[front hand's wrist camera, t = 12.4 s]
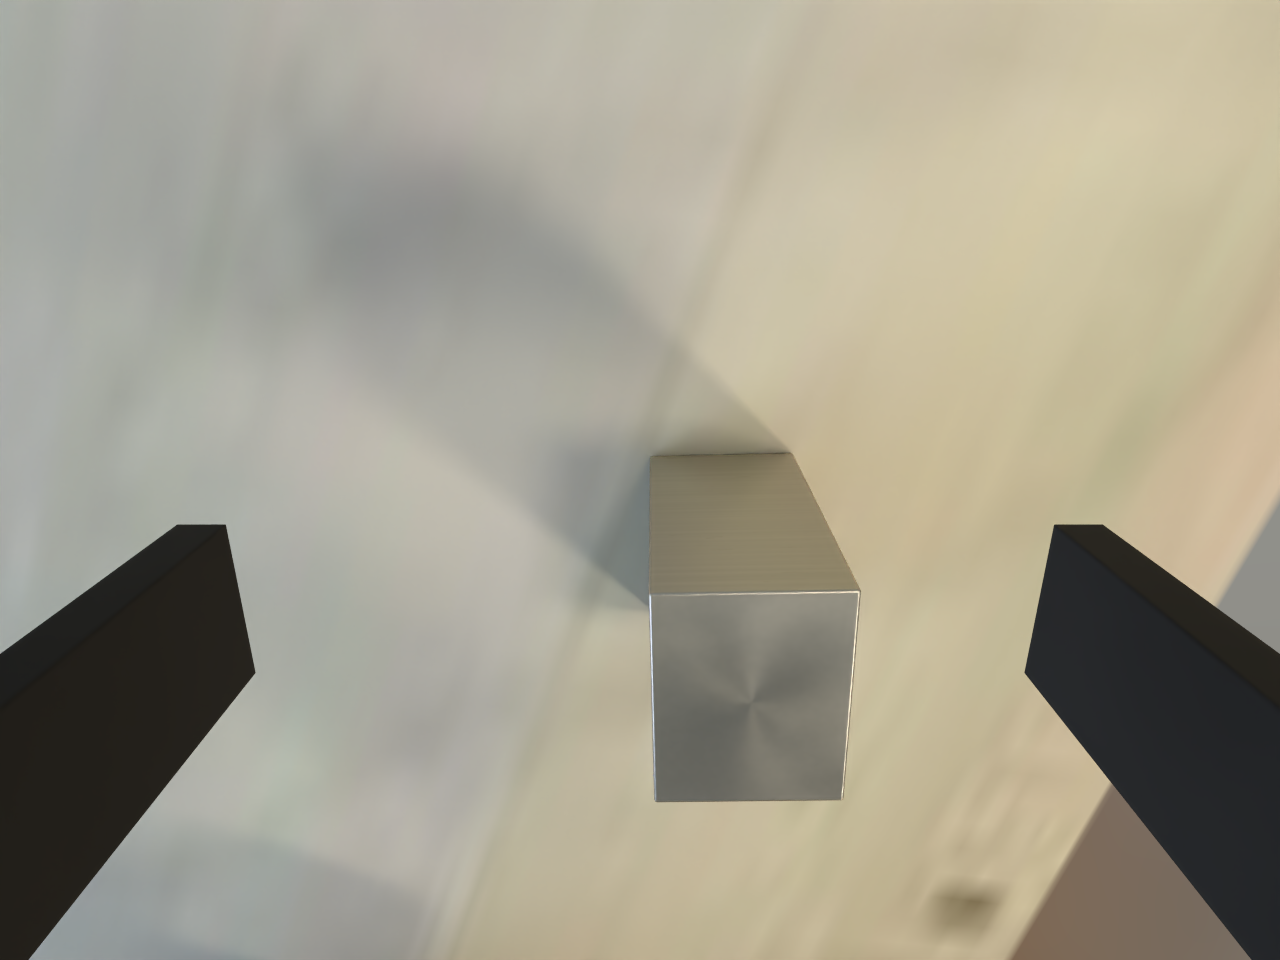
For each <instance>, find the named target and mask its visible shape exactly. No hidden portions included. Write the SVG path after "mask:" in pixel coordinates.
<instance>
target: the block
mask: <svg viewBox="0 0 1280 960" xmlns="http://www.w3.org/2000/svg"><path fill="white" fill-rule="evenodd" d="M860 595H861V591H860V588H859V586H858V584H857V582H856V580H855V578H854V576H853V574H852V572H851V570H850V568H849V566H848V564H847V562H846V560H845V558H844V556H843V554H842V552H841V550H840V548H839V546H838V544H837V542H836V540H835V538H834V536H833V534H832V532H831V530H830V528H829V526H828V524H827V522H826V520H825V518H824V516H823V514H822V512H821V510H820V508H819V506H818V504H817V502H816V500H815V498H814V496H813V494H812V492H811V490H810V488H809V486H808V484H807V482H806V480H805V478H804V476H803V474H802V472H801V470H800V468H799V466H798V464H797V462H796V460H795V458H794V456H793V454H792V453H782V454H736V455H689V456H652V457H650V515H649V620H650V657H651V694H652V730H653V767H654V799H655V801H656V802H715V801H807V800H842V799H843V796H844V784H845V772H846V760H847V748H848V736H849V725H850V713H851V701H852V689H853V677H854V666H855V654H856V642H857V630H858V618H859V606H860Z"/></svg>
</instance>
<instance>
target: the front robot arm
mask: <svg viewBox="0 0 1280 960" xmlns="http://www.w3.org/2000/svg"><path fill="white" fill-rule="evenodd" d="M254 674H255V668H254V663H253V658H252V653H251V648H250V643H249V638H248V633H247V628H246V623H245V618H244V613H243V608H242V603H241V598H240V593H239V588H238V583H237V578H236V573H235V568H234V563H233V558H232V554H231V549H230V544H229V539H228V534H227V529H226V525H176V526H175V527H173V528H172V529H171V530H169V531H168V532H167V533H165V534H164V535H163V536H161V537H160V538H158V539H157V540H156V541H154V542H153V543H152V544H150V545H149V546H147V547H146V548H145V549H143V550H142V551H141V552H139V553H138V554H136V555H135V556H134V557H132V558H131V559H130V560H128V561H127V562H126V563H124V564H123V565H121V566H120V567H119V568H117V569H116V570H115V571H113V572H112V573H110V574H109V575H108V576H106V577H105V578H104V579H102V580H101V581H100V582H98V583H97V584H95V585H94V586H93V587H91V588H90V589H89V590H87V591H86V592H84V593H83V594H82V595H80V596H79V597H78V598H76V599H75V600H73V601H72V602H71V603H69V604H68V605H67V606H65V607H64V608H63V609H61V610H60V611H58V612H57V613H56V614H54V615H53V616H52V617H50V618H49V619H47V620H46V621H45V622H43V623H42V624H41V625H39V626H38V627H37V628H35V629H34V630H32V631H31V632H30V633H28V634H27V635H26V636H24V637H23V638H21V639H20V640H19V641H17V642H16V643H15V644H13V645H12V646H10V647H9V648H8V649H6V650H5V651H4V652H2V653H1V654H0V960H29V958H30V957H31V956H32V955H33V953H34V952H35V951H36V950H37V948H38V947H39V946H40V944H41V943H42V942H43V941H44V939H45V938H46V937H47V936H48V934H49V933H50V932H51V931H52V929H53V928H54V927H55V926H56V924H57V923H58V922H59V920H60V919H61V918H62V917H63V915H64V914H65V913H66V912H67V910H68V909H69V908H70V907H71V905H72V904H73V903H74V902H75V900H76V899H77V898H78V896H79V895H80V894H81V893H82V891H83V890H84V889H85V888H86V886H87V885H88V884H89V883H90V881H91V880H92V879H93V877H94V876H95V875H96V874H97V872H98V871H99V870H100V869H101V867H102V866H103V865H104V864H105V862H106V861H107V860H108V859H109V857H110V856H111V855H112V853H113V852H114V851H115V850H116V848H117V847H118V846H119V845H120V843H121V842H122V841H123V840H124V838H125V837H126V836H127V835H128V833H129V832H130V831H131V829H132V828H133V827H134V826H135V824H136V823H137V822H138V821H139V819H140V818H141V817H142V816H143V814H144V813H145V812H146V811H147V809H148V808H149V807H150V805H151V804H152V803H153V802H154V800H155V799H156V798H157V797H158V795H159V794H160V793H161V792H162V790H163V789H164V788H165V787H166V785H167V784H168V783H169V781H170V780H171V779H172V778H173V776H174V775H175V774H176V773H177V771H178V770H179V769H180V768H181V766H182V765H183V764H184V762H185V761H186V760H187V759H188V757H189V756H190V755H191V754H192V752H193V751H194V750H195V749H196V747H197V746H198V745H199V744H200V742H201V741H202V740H203V738H204V737H205V736H206V735H207V733H208V732H209V731H210V730H211V728H212V727H213V726H214V725H215V723H216V722H217V721H218V720H219V718H220V717H221V716H222V714H223V713H224V712H225V711H226V709H227V708H228V707H229V706H230V704H231V703H232V702H233V701H234V699H235V698H236V697H237V696H238V694H239V693H240V692H241V690H242V689H243V688H244V687H245V685H246V684H247V683H248V682H249V680H250V679H251V678H252V677H253V675H254ZM1025 674H1026V675H1027V677H1028V678H1029V679H1030V680H1031V682H1032V683H1033V684H1034V685H1035V687H1036V688H1037V689H1038V690H1039V692H1040V693H1041V694H1042V696H1043V697H1044V698H1045V699H1046V701H1047V702H1048V703H1049V704H1050V706H1051V707H1052V708H1053V709H1054V711H1055V712H1056V713H1057V714H1058V716H1059V717H1060V718H1061V720H1062V721H1063V722H1064V723H1065V725H1066V726H1067V727H1068V728H1069V730H1070V731H1071V732H1072V733H1073V735H1074V736H1075V737H1076V738H1077V740H1078V741H1079V742H1080V744H1081V745H1082V746H1083V747H1084V749H1085V750H1086V751H1087V752H1088V754H1089V755H1090V756H1091V757H1092V759H1093V760H1094V761H1095V762H1096V764H1097V765H1098V766H1099V768H1100V769H1101V770H1102V771H1103V773H1104V774H1105V775H1106V776H1107V778H1108V779H1109V780H1110V781H1111V783H1112V784H1113V785H1114V787H1115V788H1116V789H1117V790H1118V792H1119V793H1120V794H1121V795H1122V797H1123V798H1124V799H1125V800H1126V802H1127V803H1128V804H1129V805H1130V807H1131V808H1132V809H1133V811H1134V812H1135V813H1136V814H1137V816H1138V817H1139V818H1140V819H1141V821H1142V822H1143V823H1144V824H1145V826H1146V827H1147V828H1148V829H1149V831H1150V832H1151V833H1152V835H1153V836H1154V837H1155V838H1156V840H1157V841H1158V842H1159V843H1160V845H1161V846H1162V847H1163V848H1164V850H1165V851H1166V852H1167V853H1168V855H1169V856H1170V857H1171V859H1172V860H1173V861H1174V862H1175V864H1176V865H1177V866H1178V867H1179V869H1180V870H1181V871H1182V872H1183V874H1184V875H1185V876H1186V877H1187V879H1188V880H1189V881H1190V883H1191V884H1192V885H1193V886H1194V888H1195V889H1196V890H1197V891H1198V893H1199V894H1200V895H1201V896H1202V898H1203V899H1204V900H1205V902H1206V903H1207V904H1208V905H1209V907H1210V908H1211V909H1212V910H1213V912H1214V913H1215V914H1216V915H1217V917H1218V918H1219V919H1220V920H1221V922H1222V923H1223V924H1224V925H1225V927H1226V928H1227V929H1228V931H1229V932H1230V933H1231V934H1232V936H1233V937H1234V938H1235V939H1236V941H1237V942H1238V943H1239V944H1240V946H1241V947H1242V948H1243V950H1244V951H1245V952H1246V953H1247V955H1248V956H1249V957H1250V958H1251V960H1280V654H1279V653H1278V652H1276V651H1275V650H1274V649H1272V648H1271V647H1270V646H1268V645H1267V644H1265V643H1264V642H1263V641H1261V640H1260V639H1259V638H1257V637H1256V636H1254V635H1253V634H1252V633H1250V632H1249V631H1248V630H1246V629H1245V628H1243V627H1242V626H1241V625H1239V624H1238V623H1237V622H1235V621H1234V620H1233V619H1231V618H1230V617H1228V616H1227V615H1226V614H1224V613H1223V612H1222V611H1220V610H1219V609H1217V608H1216V607H1215V606H1213V605H1212V604H1211V603H1209V602H1208V601H1207V600H1205V599H1204V598H1202V597H1201V596H1200V595H1198V594H1197V593H1196V592H1194V591H1193V590H1191V589H1190V588H1189V587H1187V586H1186V585H1185V584H1183V583H1182V582H1180V581H1179V580H1178V579H1176V578H1175V577H1174V576H1172V575H1171V574H1170V573H1168V572H1167V571H1165V570H1164V569H1163V568H1161V567H1160V566H1159V565H1157V564H1156V563H1154V562H1153V561H1152V560H1150V559H1149V558H1148V557H1146V556H1145V555H1144V554H1142V553H1141V552H1139V551H1138V550H1137V549H1135V548H1134V547H1133V546H1131V545H1130V544H1128V543H1127V542H1126V541H1124V540H1123V539H1122V538H1120V537H1119V536H1117V535H1116V534H1115V533H1113V532H1112V531H1111V530H1109V529H1108V528H1107V527H1105V526H1104V525H1054V529H1053V534H1052V539H1051V544H1050V549H1049V553H1048V558H1047V563H1046V568H1045V573H1044V578H1043V583H1042V588H1041V593H1040V598H1039V603H1038V608H1037V613H1036V618H1035V623H1034V628H1033V633H1032V638H1031V643H1030V648H1029V653H1028V658H1027V663H1026V668H1025Z"/></svg>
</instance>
